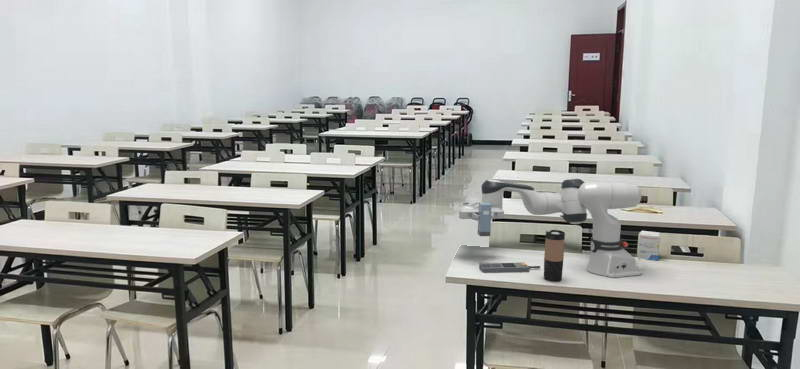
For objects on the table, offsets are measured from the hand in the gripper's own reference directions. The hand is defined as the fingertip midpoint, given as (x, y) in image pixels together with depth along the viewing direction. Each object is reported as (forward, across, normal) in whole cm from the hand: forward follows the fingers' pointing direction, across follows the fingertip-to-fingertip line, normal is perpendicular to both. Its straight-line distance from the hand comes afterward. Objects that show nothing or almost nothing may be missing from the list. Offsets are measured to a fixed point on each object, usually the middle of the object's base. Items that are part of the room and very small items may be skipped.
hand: (485, 217), depth 258 cm
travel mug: (+21, -24, -22) cm, 39 cm away
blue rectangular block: (-1, 0, -8) cm, 8 cm away
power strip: (+8, -10, -21) cm, 25 cm away
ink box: (-6, -80, -22) cm, 83 cm away
